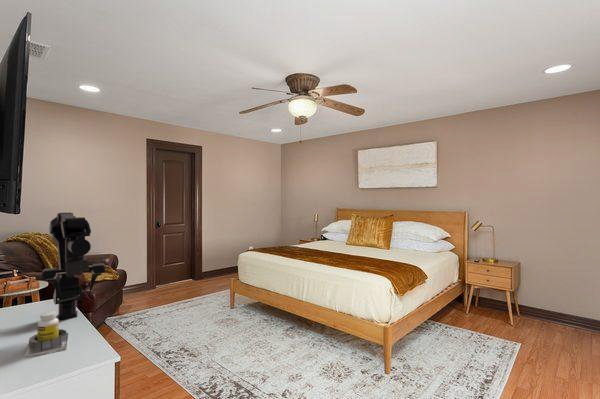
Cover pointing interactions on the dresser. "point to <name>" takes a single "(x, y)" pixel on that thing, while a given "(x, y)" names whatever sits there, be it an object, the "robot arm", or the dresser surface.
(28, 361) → the dresser surface
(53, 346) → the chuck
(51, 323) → the supplement bottle
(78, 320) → the dresser surface
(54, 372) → the dresser surface
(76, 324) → the dresser surface
